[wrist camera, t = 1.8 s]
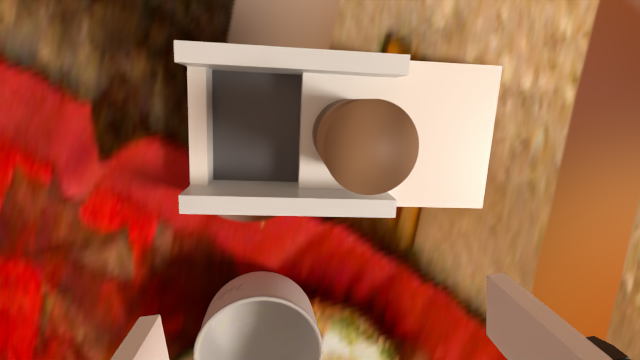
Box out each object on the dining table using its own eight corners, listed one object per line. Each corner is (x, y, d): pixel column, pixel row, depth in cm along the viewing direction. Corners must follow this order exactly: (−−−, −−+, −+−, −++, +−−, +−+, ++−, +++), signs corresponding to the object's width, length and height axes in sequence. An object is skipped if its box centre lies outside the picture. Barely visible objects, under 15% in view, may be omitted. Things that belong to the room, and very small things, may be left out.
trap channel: (198, 193, 36) (179, 213, 29) (195, 51, 33) (173, 40, 27) (467, 200, 38) (503, 219, 32) (484, 68, 35) (527, 62, 29)
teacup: (230, 244, 37) (216, 282, 29) (331, 276, 39) (342, 320, 31) (189, 361, 39) (164, 426, 31) (285, 386, 41) (285, 454, 33)
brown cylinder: (310, 166, 33) (321, 194, 23) (313, 97, 32) (325, 96, 22) (376, 168, 34) (414, 196, 24) (382, 101, 32) (423, 101, 23)
